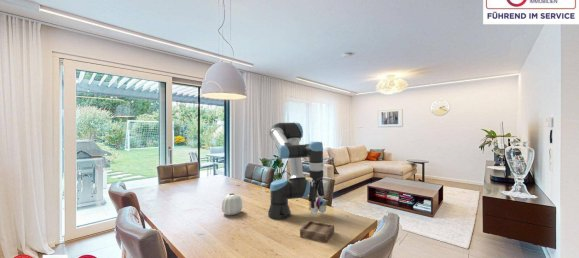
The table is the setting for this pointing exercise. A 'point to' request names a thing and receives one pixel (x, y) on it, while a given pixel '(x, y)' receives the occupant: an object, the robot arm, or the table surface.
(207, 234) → the table surface
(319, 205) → the multicoloured small pieces
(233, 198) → the vase
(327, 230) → the wooden tray
